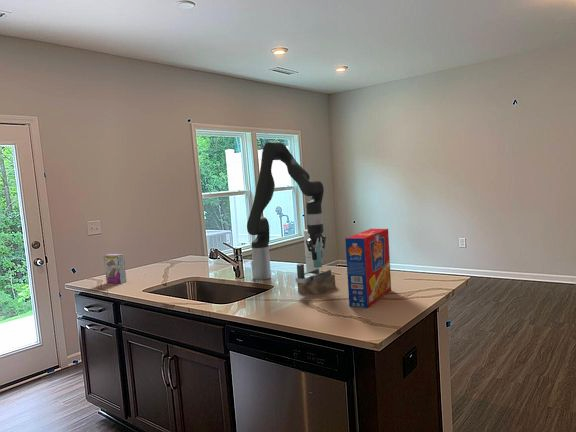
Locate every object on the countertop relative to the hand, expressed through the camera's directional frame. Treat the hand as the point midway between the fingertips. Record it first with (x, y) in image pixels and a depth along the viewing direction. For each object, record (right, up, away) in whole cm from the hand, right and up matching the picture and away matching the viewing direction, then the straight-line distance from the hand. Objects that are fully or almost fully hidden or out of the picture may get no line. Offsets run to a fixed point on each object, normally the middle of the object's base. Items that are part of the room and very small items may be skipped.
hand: (317, 258), depth 210 cm
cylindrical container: (0, -12, +27) cm, 30 cm away
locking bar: (-6, -9, -7) cm, 13 cm away
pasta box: (+22, -15, -21) cm, 34 cm away
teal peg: (0, -4, 0) cm, 4 cm away
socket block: (0, -14, 0) cm, 14 cm away
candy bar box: (-113, -18, +45) cm, 123 cm away
